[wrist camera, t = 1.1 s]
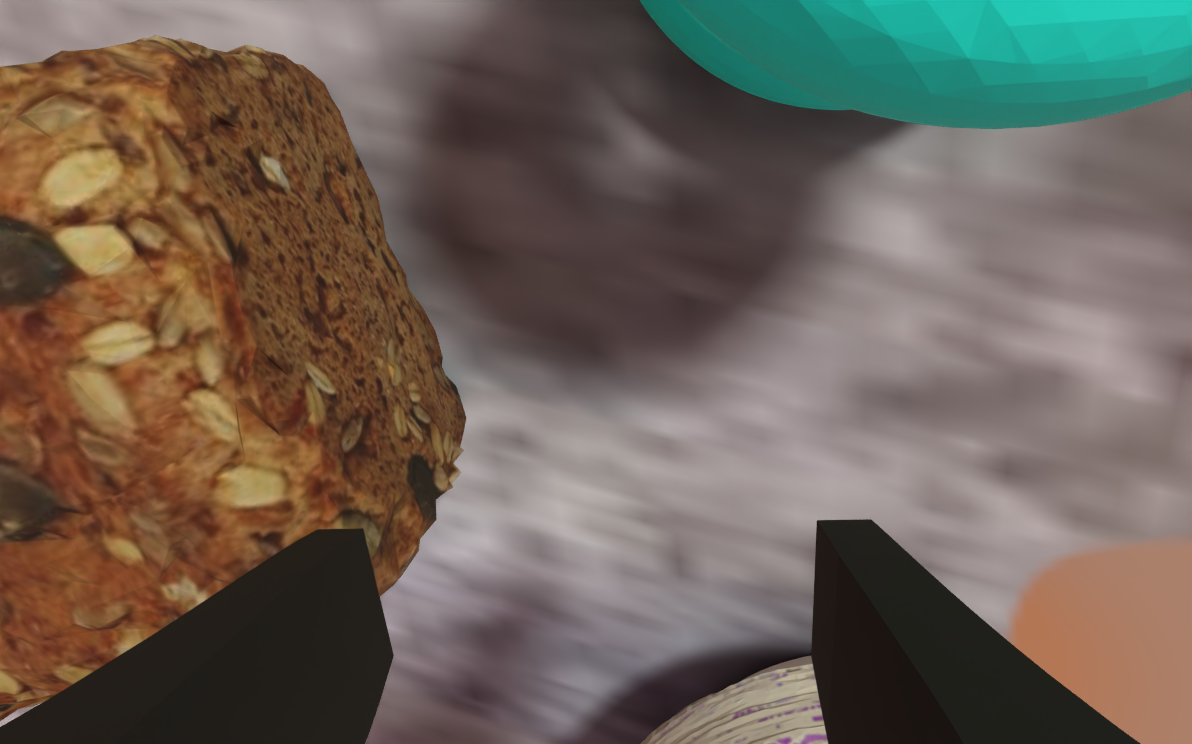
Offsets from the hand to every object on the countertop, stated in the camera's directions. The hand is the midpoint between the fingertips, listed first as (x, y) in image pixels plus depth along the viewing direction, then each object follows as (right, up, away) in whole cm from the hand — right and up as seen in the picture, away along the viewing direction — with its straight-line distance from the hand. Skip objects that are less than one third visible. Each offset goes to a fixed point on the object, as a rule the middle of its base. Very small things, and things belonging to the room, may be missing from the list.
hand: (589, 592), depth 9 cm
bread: (-13, +3, +11) cm, 17 cm away
